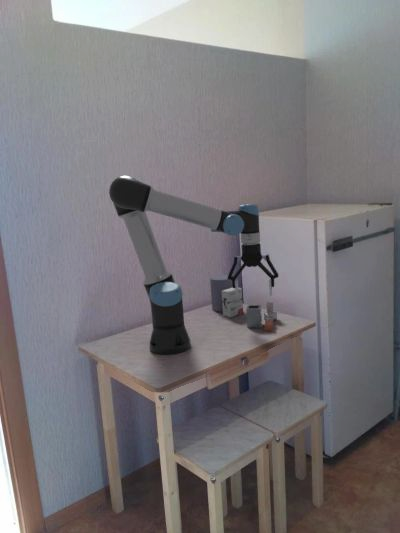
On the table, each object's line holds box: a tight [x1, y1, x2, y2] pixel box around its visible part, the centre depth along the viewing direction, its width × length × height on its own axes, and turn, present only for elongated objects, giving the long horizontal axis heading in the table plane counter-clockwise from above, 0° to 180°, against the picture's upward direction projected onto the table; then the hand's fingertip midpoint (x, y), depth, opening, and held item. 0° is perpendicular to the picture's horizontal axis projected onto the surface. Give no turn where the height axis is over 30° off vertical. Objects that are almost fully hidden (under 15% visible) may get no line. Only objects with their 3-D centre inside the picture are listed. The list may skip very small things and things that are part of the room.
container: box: [209, 274, 233, 312], centre depth 220 cm, size 10×10×15 cm
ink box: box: [222, 287, 244, 318], centre depth 210 cm, size 9×5×12 cm, turn 133°
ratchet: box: [263, 300, 278, 333], centre depth 193 cm, size 5×18×8 cm, turn 168°
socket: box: [245, 304, 263, 329], centre depth 193 cm, size 6×6×8 cm
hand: (254, 295), depth 191 cm, fingers open, 13 cm apart
